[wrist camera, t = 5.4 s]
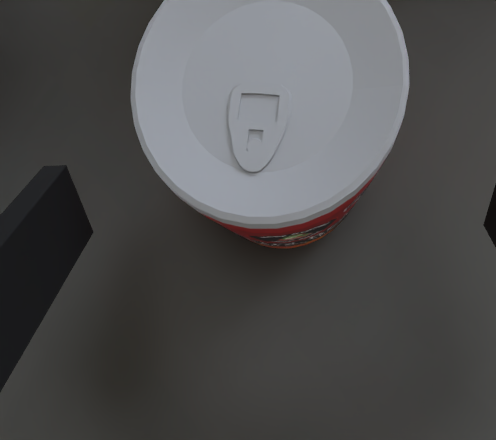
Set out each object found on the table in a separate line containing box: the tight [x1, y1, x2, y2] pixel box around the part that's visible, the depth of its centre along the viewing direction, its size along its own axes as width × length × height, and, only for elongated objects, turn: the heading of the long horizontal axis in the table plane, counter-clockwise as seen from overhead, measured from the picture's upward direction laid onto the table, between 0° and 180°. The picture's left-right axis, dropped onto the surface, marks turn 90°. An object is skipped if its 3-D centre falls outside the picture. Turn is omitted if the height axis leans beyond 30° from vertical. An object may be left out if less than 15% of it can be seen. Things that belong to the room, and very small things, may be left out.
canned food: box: [131, 0, 409, 248], centre depth 17 cm, size 8×8×11 cm
